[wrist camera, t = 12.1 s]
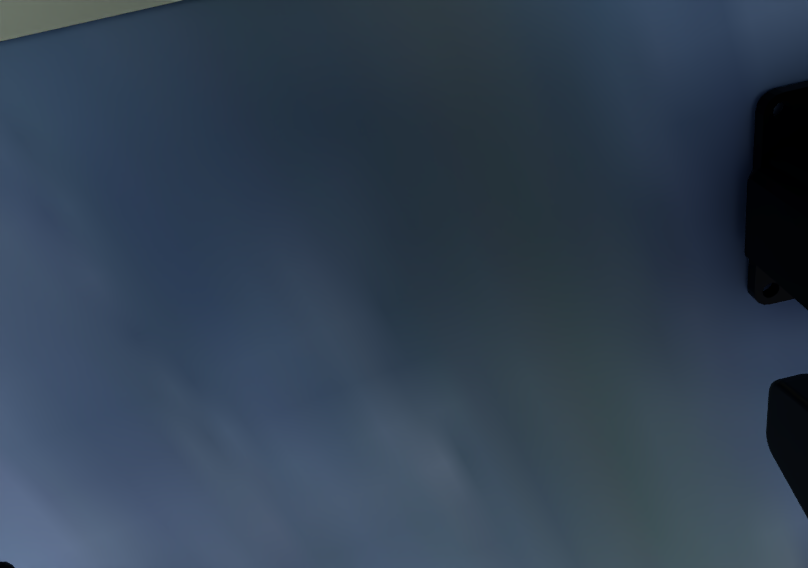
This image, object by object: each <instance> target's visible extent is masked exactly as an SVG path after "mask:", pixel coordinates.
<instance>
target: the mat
mask: <svg viewBox="0 0 808 568" xmlns="http://www.w3.org/2000/svg"><path fill="white" fill-rule="evenodd" d="M177 1H182V0H0V41H4V40H9V39H13V38H18V37H22V36H27V35H31V34H35V33H40V32H44V31H49V30H53V29H58V28H62V27H66V26H71V25H75V24H80V23H84V22H89V21H93V20H98V19H102V18H106V17H111V16H115V15H120V14H124V13H129V12H133V11H137V10H142V9H146V8H151V7H155V6H160V5H164V4H169V3H173V2H177Z"/></svg>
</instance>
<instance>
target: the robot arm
mask: <svg viewBox="0 0 808 568" xmlns="http://www.w3.org/2000/svg"><path fill="white" fill-rule="evenodd" d="M781 102H783V108H782V110H781V111H780V112H779V114H777V115H775V116H773V111H774V108H775V107H776V106H777V104H778V103H781ZM745 256H746V257H747V258H748V259H749V266H748V292H749V294H750V295H751V296H752V297H753V298H754V299H755V300H756V301H757V302H758V303H761V304H764V305H766V304H773V303H778V302H782V301H786V300H791V299H796V300H797V301H798V302H799V303H800V304H801V305H803V306H804V307H805V308H806V309H807V310H808V81H804V82H800V83H796V84H791V85H787V86H783V87H778V88H774V89H772V90H770V91H768V92H766V93H765V94H764V95H763V96H762V97H761V98H760V100H759V102H758V103H757V107H756V111H755V133H754V155H753V171H752V172H751V174H750V176H749V178H748V182H747V206H746V230H745ZM770 283H771V286H770V287H769V288H768V289H766V290H764V291H763V289H764V287H765V286H766V285H767V284H770ZM766 437H767V442H768V446H769V449H770V451H771V453H772V455H773V457H774V459H775V461H776V462H777V464H778V466H779V468H780V470H781V471H782V473H783V475H784V477H785V479H786V480H787V482H788V484H789V486H790V487H791V489H792V491H793V493H794V495H795V496H796V498H797V500H798V502H799V504H800V505H801V507H802V509H803V511H804V512H805V514H806V516H807V518H808V374H799V375H795V376H791V377H787V378H782V379H778V380H776V381H774V382H773V383H772V384H771V386H770V389H769V397H768V412H767V427H766ZM0 568H14V566H13V565H11V564H10V563H8V562H0Z"/></svg>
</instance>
